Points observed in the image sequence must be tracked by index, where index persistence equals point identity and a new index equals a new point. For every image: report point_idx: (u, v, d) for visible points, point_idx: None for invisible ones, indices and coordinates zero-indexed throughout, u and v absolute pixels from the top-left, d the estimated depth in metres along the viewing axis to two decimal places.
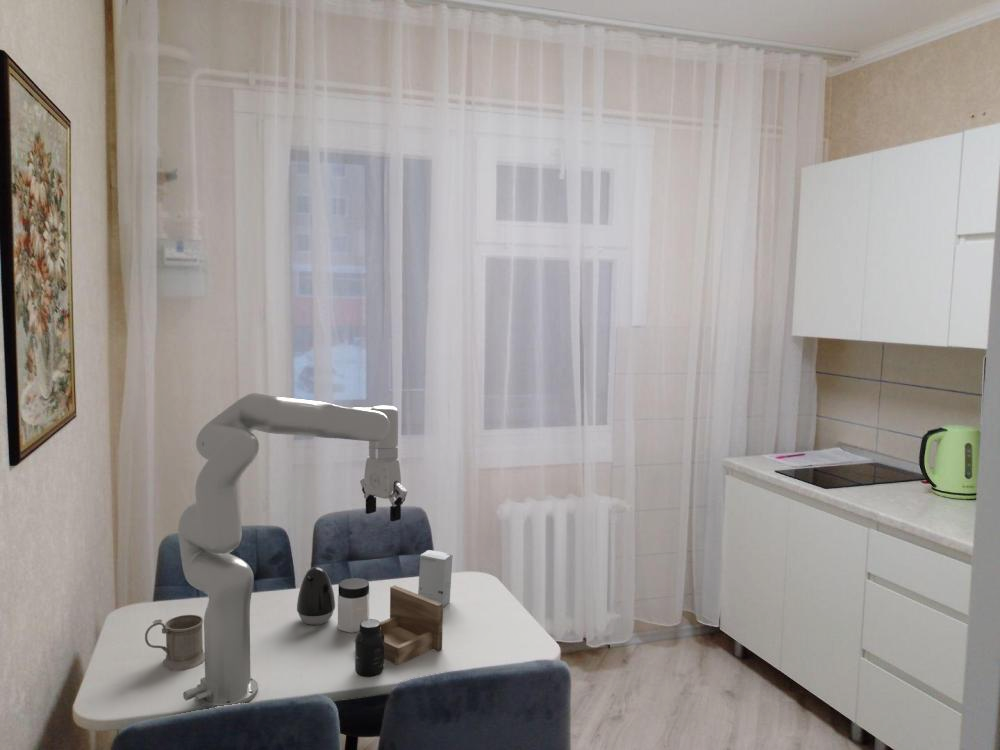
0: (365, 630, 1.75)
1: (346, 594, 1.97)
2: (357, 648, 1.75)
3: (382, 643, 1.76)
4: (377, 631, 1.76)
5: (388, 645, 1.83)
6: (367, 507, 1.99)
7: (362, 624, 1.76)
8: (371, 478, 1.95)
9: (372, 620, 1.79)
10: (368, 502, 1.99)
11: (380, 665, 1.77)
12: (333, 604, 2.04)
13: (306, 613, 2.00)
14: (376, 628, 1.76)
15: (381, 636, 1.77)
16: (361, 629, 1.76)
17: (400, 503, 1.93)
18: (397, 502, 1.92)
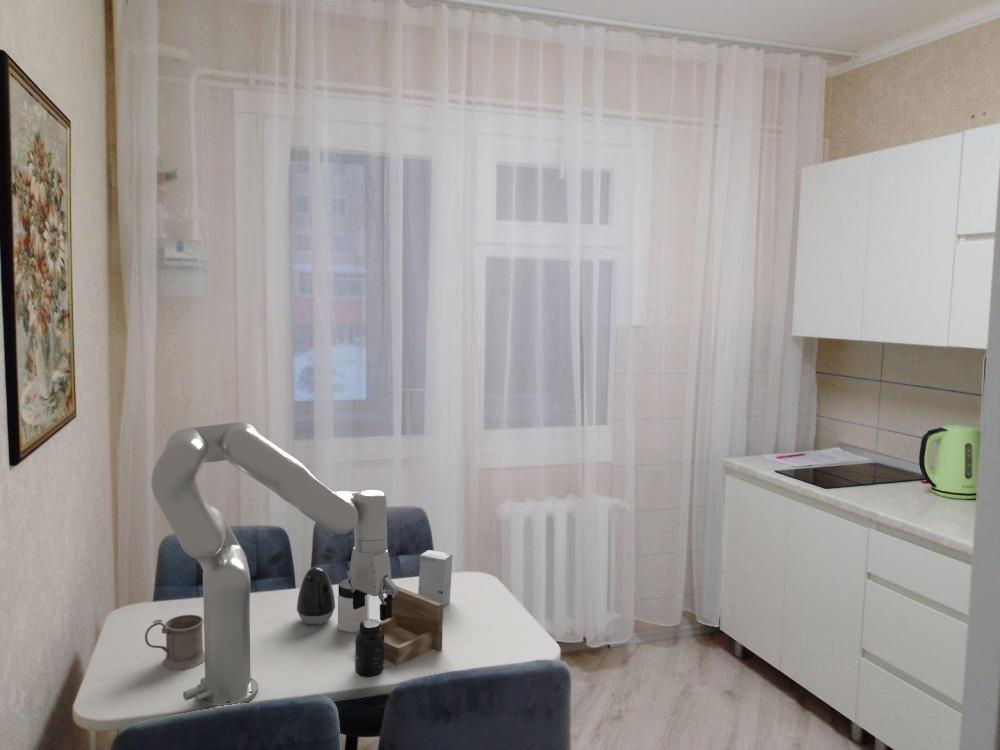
0: (365, 630, 1.75)
1: (346, 594, 1.97)
2: (357, 648, 1.75)
3: (382, 643, 1.76)
4: (377, 631, 1.76)
5: (388, 645, 1.83)
6: (354, 602, 1.79)
7: (362, 624, 1.76)
8: (358, 572, 1.75)
9: (372, 620, 1.78)
10: (355, 597, 1.79)
11: (380, 665, 1.77)
12: (333, 604, 2.04)
13: (306, 613, 2.00)
14: (376, 628, 1.76)
15: (381, 636, 1.77)
16: (361, 629, 1.76)
17: (391, 600, 1.72)
18: (387, 600, 1.72)
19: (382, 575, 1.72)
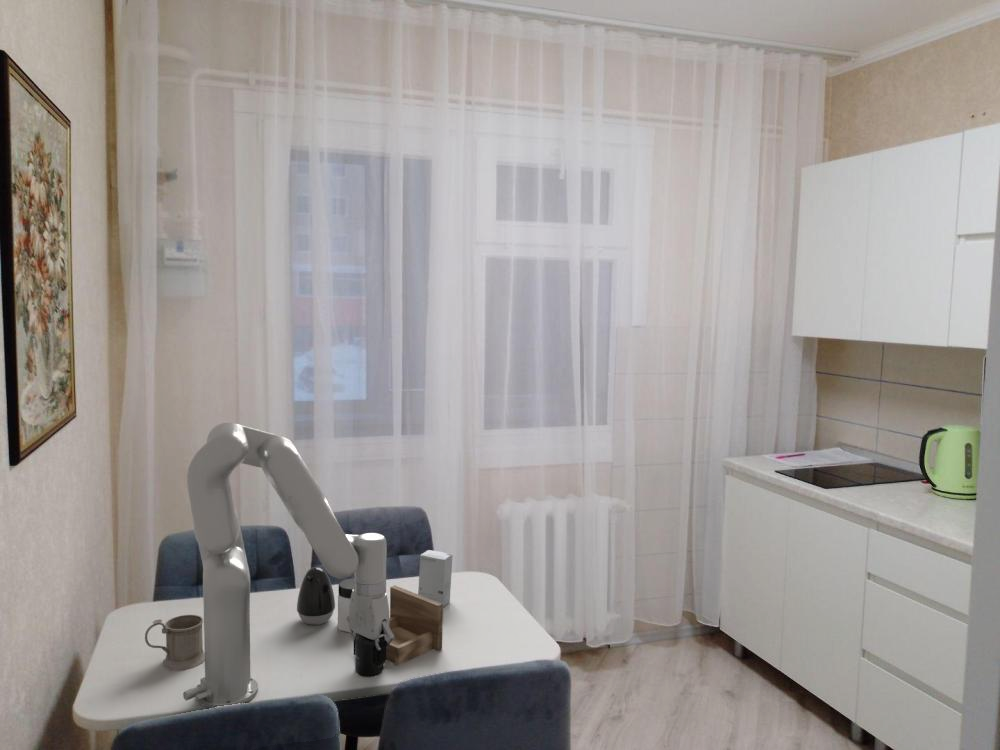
0: None
1: (346, 594, 1.97)
2: (357, 648, 1.75)
3: None
4: None
5: (388, 645, 1.83)
6: None
7: None
8: (356, 615, 1.76)
9: None
10: None
11: (380, 665, 1.77)
12: (333, 604, 2.04)
13: (306, 613, 2.00)
14: None
15: None
16: None
17: (385, 646, 1.74)
18: (382, 645, 1.73)
19: (380, 619, 1.73)
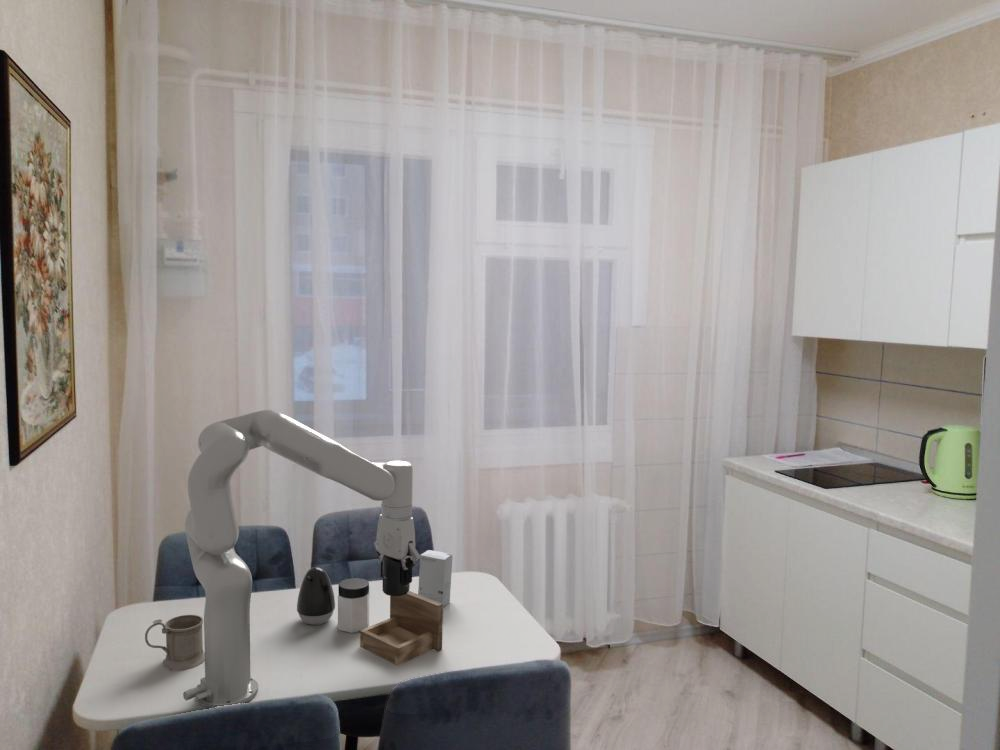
0: None
1: (345, 594, 1.97)
2: (385, 568, 1.86)
3: None
4: None
5: (388, 645, 1.83)
6: (382, 570, 1.89)
7: None
8: (384, 537, 1.86)
9: None
10: None
11: (407, 585, 1.87)
12: (333, 604, 2.04)
13: (306, 613, 2.00)
14: None
15: None
16: None
17: (411, 566, 1.84)
18: (408, 565, 1.84)
19: (407, 540, 1.83)
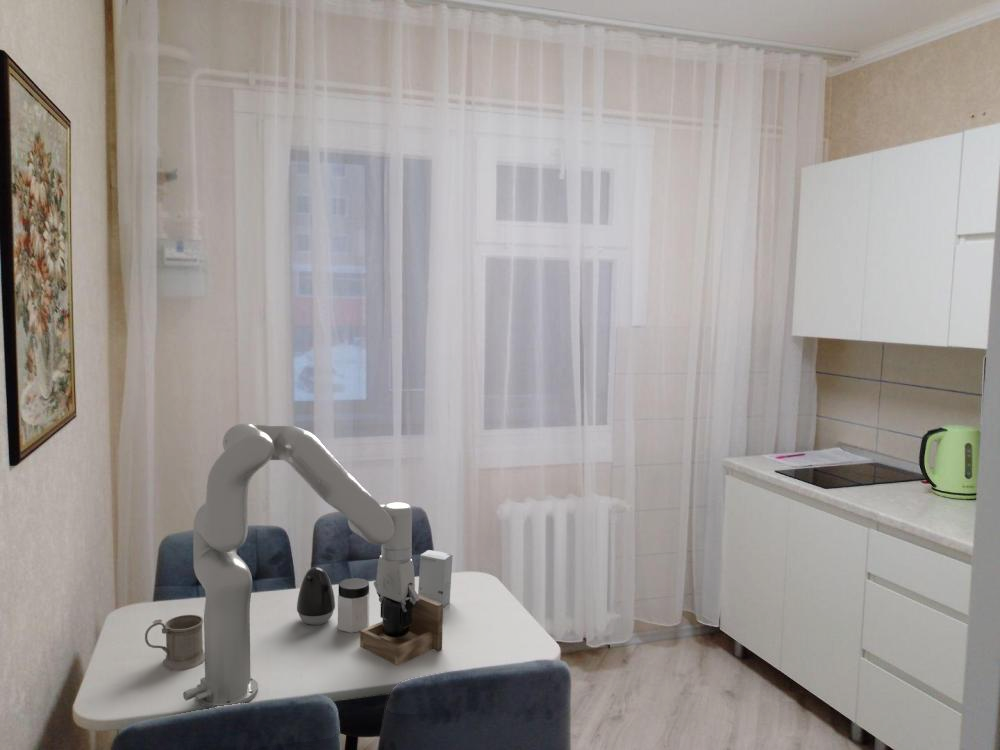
0: None
1: (346, 594, 1.97)
2: (385, 610, 1.87)
3: None
4: None
5: (388, 645, 1.83)
6: (382, 611, 1.90)
7: None
8: (384, 579, 1.87)
9: None
10: None
11: (406, 627, 1.88)
12: (333, 604, 2.04)
13: (306, 613, 2.00)
14: None
15: None
16: None
17: (411, 608, 1.85)
18: (408, 607, 1.85)
19: (407, 582, 1.84)
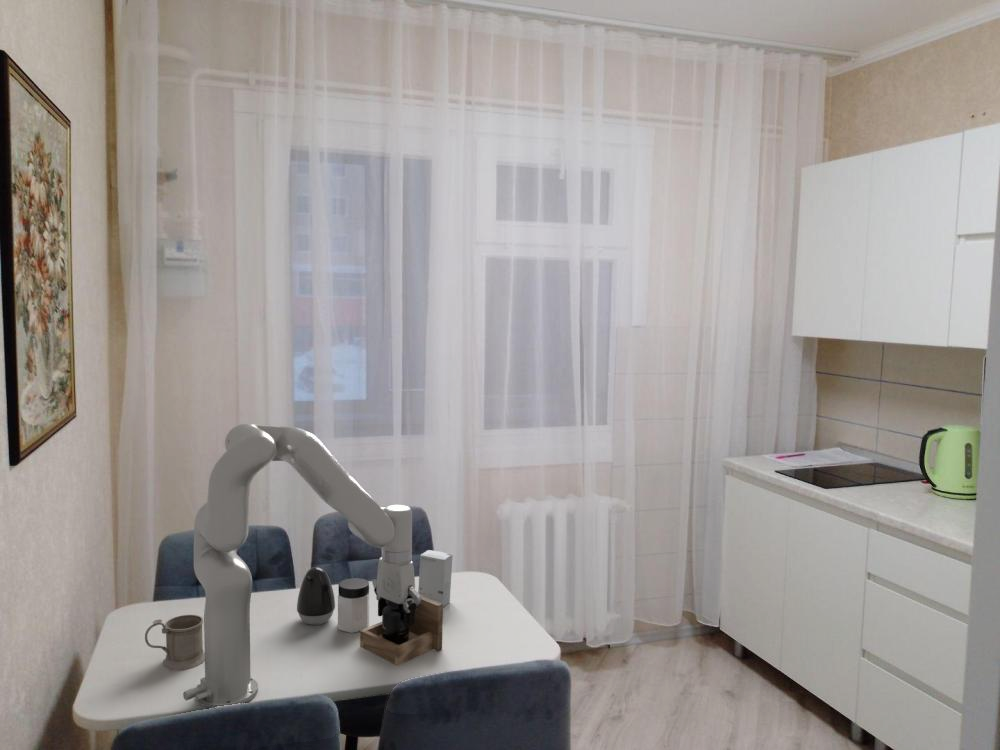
0: (392, 602, 1.86)
1: (346, 594, 1.97)
2: (384, 619, 1.87)
3: None
4: None
5: (388, 645, 1.83)
6: (379, 609, 1.91)
7: None
8: (384, 581, 1.87)
9: None
10: (380, 604, 1.91)
11: (406, 636, 1.88)
12: (333, 604, 2.04)
13: (306, 613, 2.00)
14: None
15: None
16: (388, 601, 1.87)
17: (414, 609, 1.85)
18: (411, 608, 1.84)
19: (407, 585, 1.84)
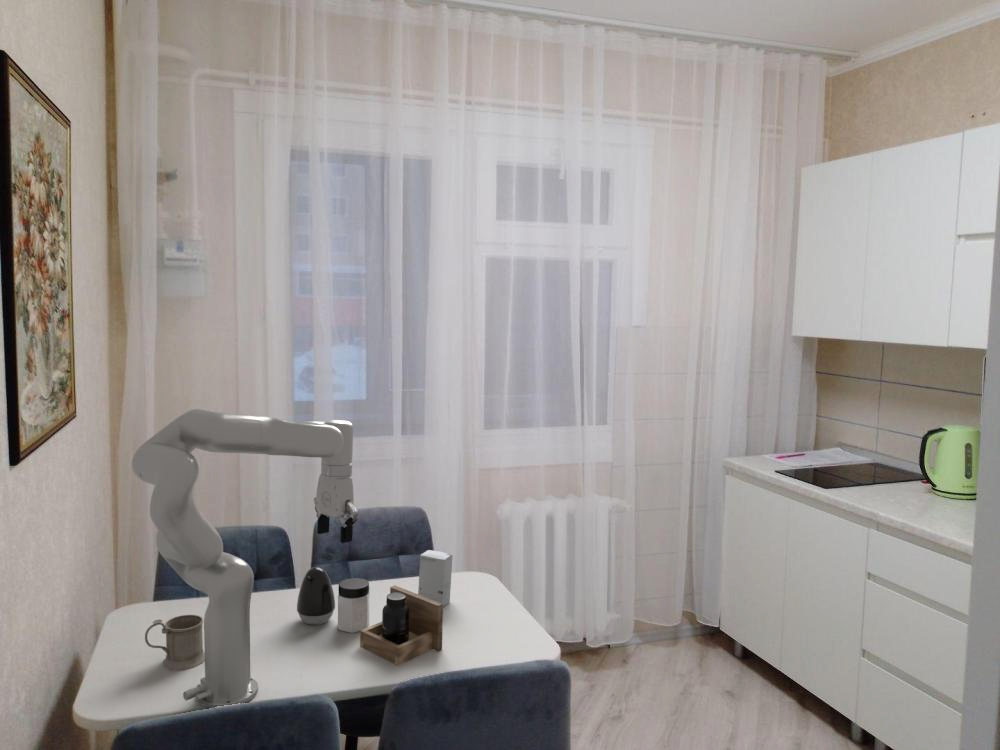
0: (392, 602, 1.86)
1: (346, 594, 1.97)
2: (384, 619, 1.87)
3: (407, 614, 1.88)
4: (403, 603, 1.87)
5: (388, 645, 1.83)
6: (319, 527, 1.89)
7: (389, 597, 1.88)
8: (323, 496, 1.85)
9: (398, 593, 1.90)
10: (320, 521, 1.89)
11: (406, 636, 1.88)
12: (333, 604, 2.04)
13: (306, 613, 2.00)
14: (402, 600, 1.87)
15: (406, 608, 1.88)
16: (388, 601, 1.87)
17: (351, 524, 1.82)
18: (348, 522, 1.82)
19: (344, 499, 1.82)
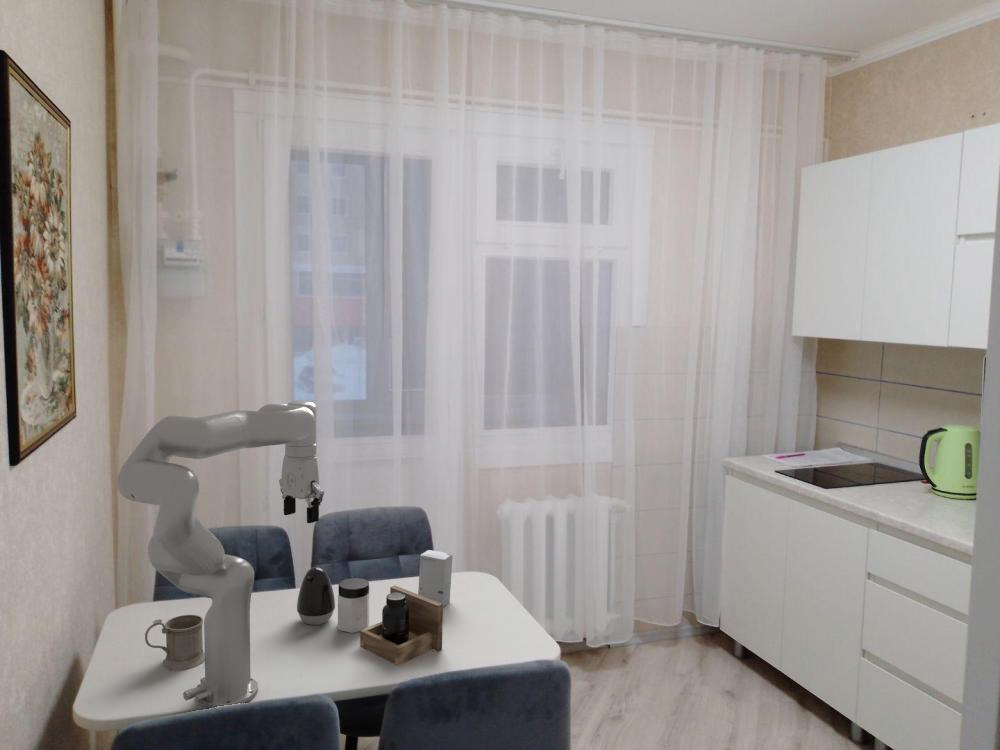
0: (391, 602, 1.86)
1: (346, 594, 1.97)
2: (384, 619, 1.87)
3: (407, 614, 1.88)
4: (403, 603, 1.87)
5: (388, 645, 1.83)
6: (285, 508, 1.89)
7: (389, 597, 1.88)
8: (288, 477, 1.85)
9: (398, 593, 1.90)
10: (286, 503, 1.89)
11: (406, 636, 1.88)
12: (333, 604, 2.04)
13: (306, 613, 2.00)
14: (402, 600, 1.87)
15: (406, 608, 1.88)
16: (388, 601, 1.87)
17: (317, 504, 1.83)
18: (314, 503, 1.82)
19: (309, 479, 1.82)
